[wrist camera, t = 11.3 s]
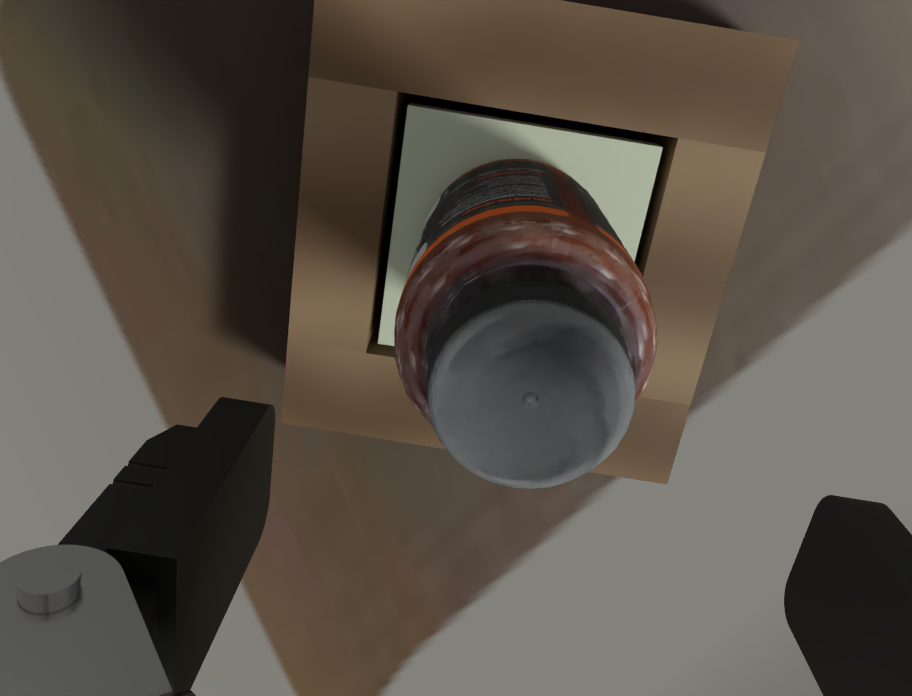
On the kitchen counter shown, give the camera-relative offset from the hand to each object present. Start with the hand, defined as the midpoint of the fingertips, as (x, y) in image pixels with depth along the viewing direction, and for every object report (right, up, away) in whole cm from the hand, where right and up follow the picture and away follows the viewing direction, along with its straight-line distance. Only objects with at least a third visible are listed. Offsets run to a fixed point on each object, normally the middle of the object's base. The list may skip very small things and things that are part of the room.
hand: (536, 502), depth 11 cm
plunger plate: (+1, +6, +15) cm, 16 cm away
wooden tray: (+1, +7, +17) cm, 19 cm away
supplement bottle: (+1, +6, +14) cm, 15 cm away
